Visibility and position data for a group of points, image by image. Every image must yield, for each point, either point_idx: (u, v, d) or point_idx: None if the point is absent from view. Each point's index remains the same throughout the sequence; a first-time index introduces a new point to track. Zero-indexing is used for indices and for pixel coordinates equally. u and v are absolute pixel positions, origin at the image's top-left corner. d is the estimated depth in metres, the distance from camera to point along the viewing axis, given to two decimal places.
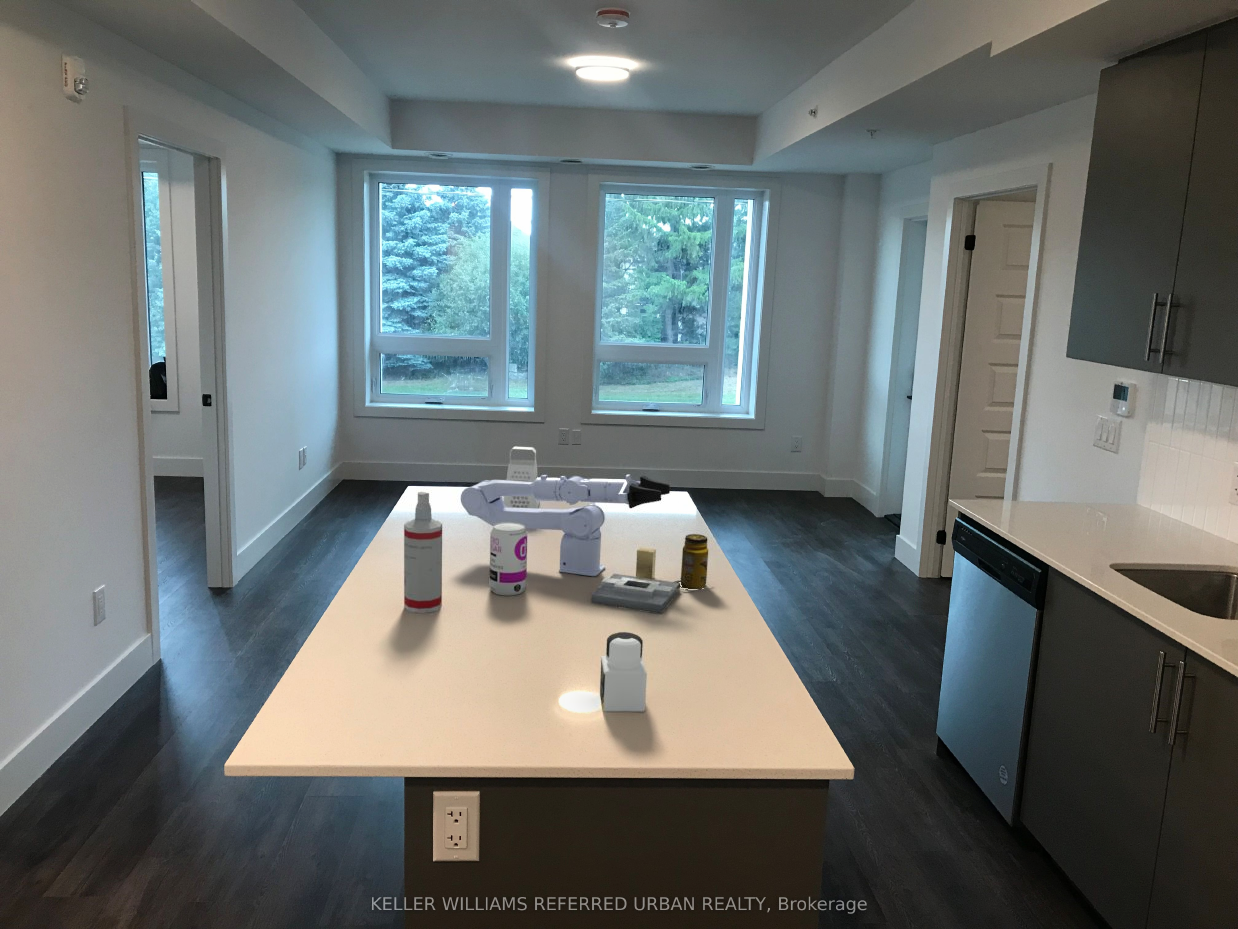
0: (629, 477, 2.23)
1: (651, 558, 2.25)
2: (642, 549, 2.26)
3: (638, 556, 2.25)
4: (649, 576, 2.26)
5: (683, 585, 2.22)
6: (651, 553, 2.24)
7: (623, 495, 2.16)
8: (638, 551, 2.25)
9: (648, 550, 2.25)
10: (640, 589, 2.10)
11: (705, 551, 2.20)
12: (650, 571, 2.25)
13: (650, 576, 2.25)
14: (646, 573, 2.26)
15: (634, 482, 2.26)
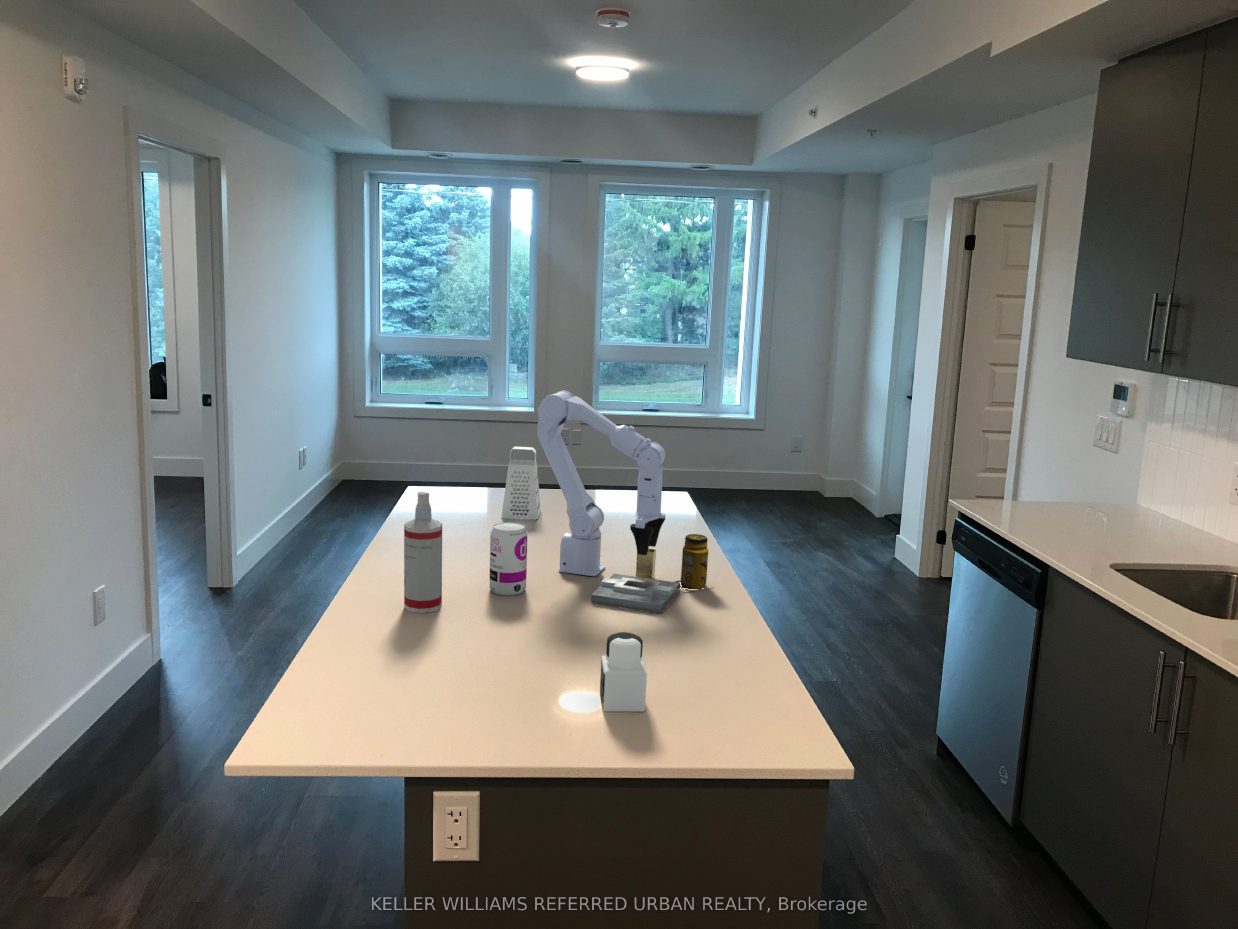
0: None
1: (651, 558, 2.25)
2: None
3: (638, 556, 2.25)
4: (649, 576, 2.26)
5: (683, 585, 2.22)
6: (651, 553, 2.24)
7: (642, 525, 2.17)
8: None
9: (648, 550, 2.25)
10: (640, 589, 2.10)
11: (705, 551, 2.20)
12: (650, 571, 2.25)
13: (650, 576, 2.25)
14: (646, 573, 2.26)
15: None
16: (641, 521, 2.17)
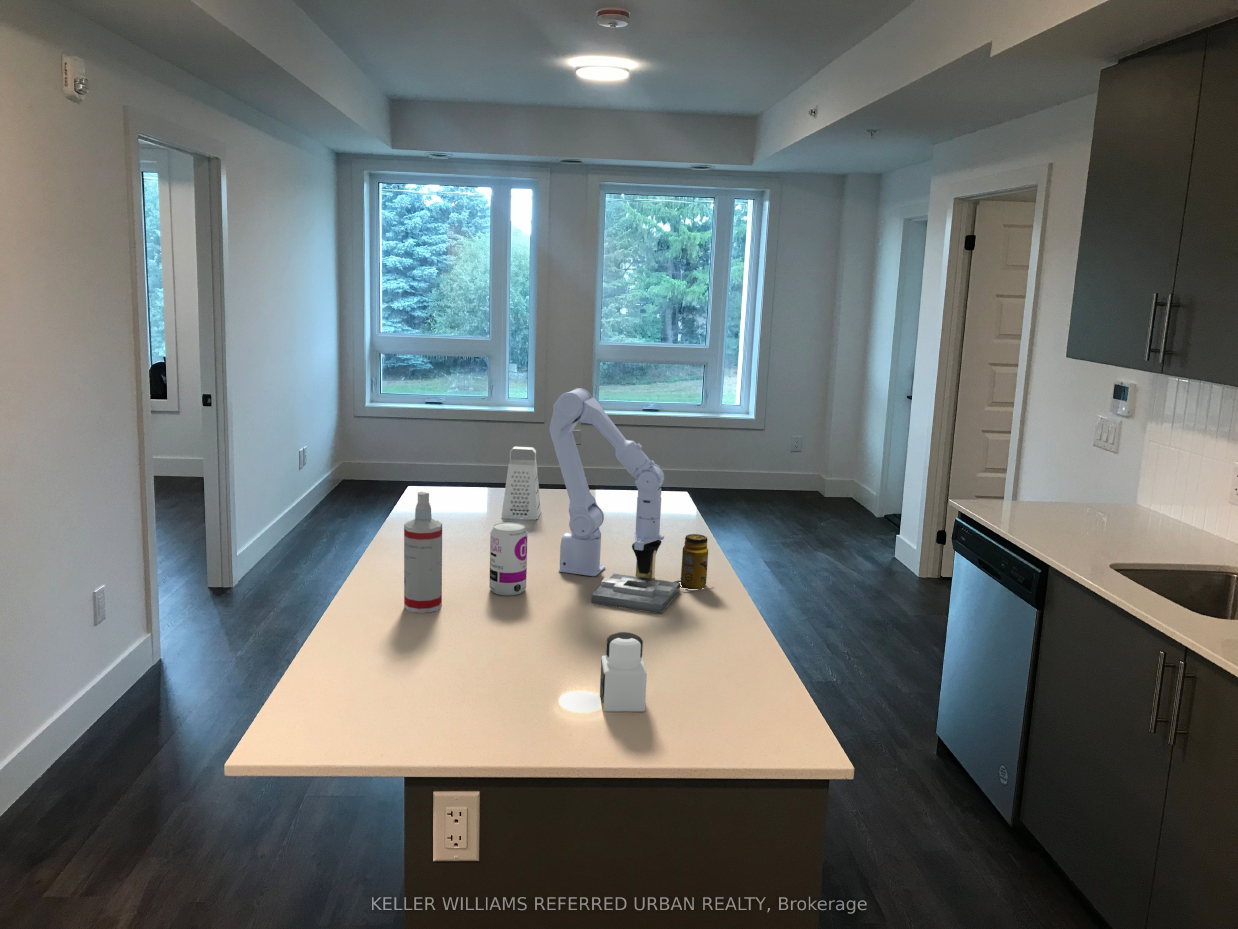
0: None
1: None
2: None
3: None
4: (649, 576, 2.26)
5: (683, 585, 2.22)
6: None
7: (641, 547, 2.18)
8: None
9: None
10: (640, 589, 2.10)
11: (705, 551, 2.20)
12: (650, 571, 2.25)
13: (650, 576, 2.25)
14: None
15: None
16: (640, 543, 2.18)
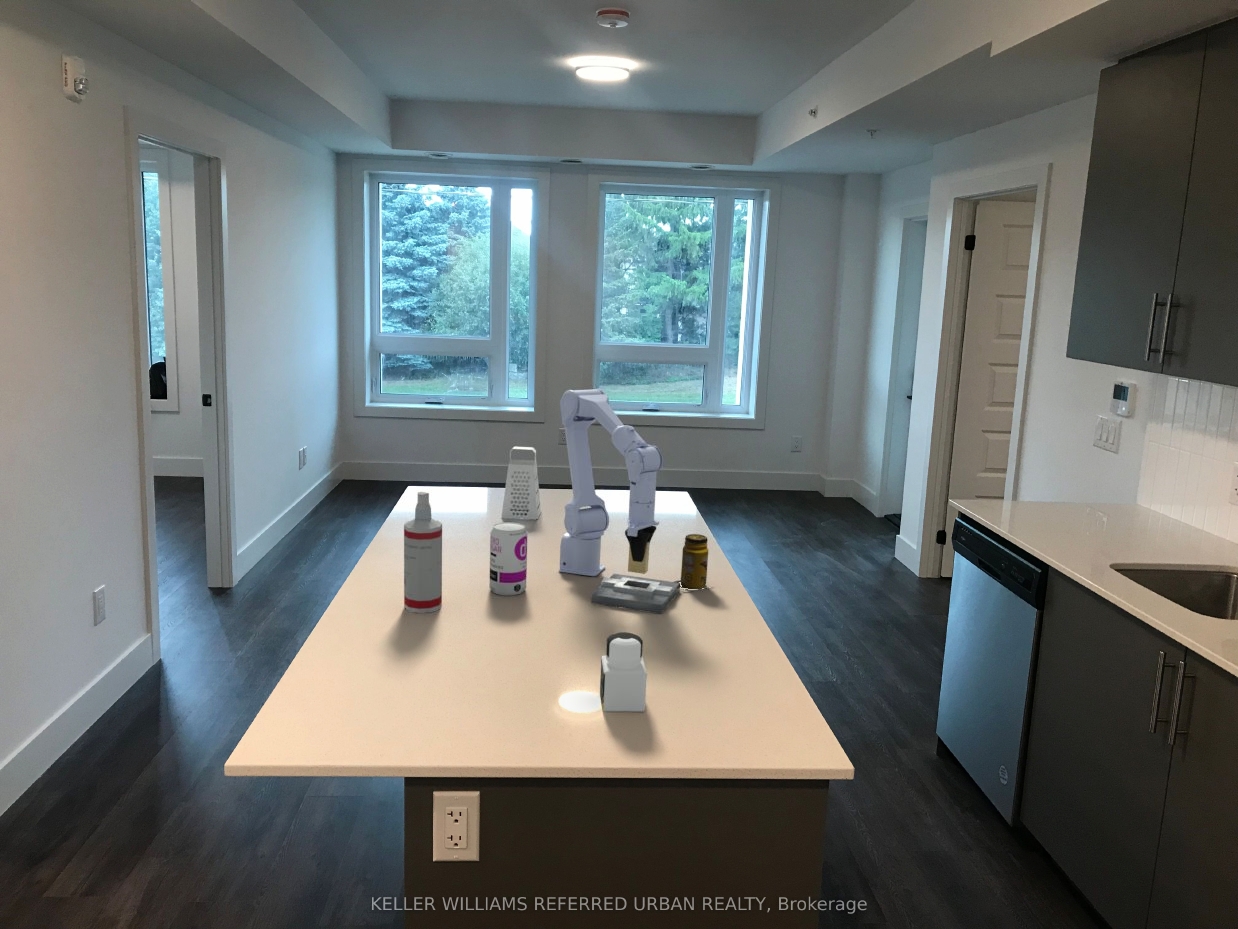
0: None
1: None
2: None
3: None
4: (642, 570, 2.12)
5: (683, 585, 2.22)
6: None
7: (634, 533, 2.05)
8: None
9: None
10: (640, 589, 2.10)
11: (705, 551, 2.20)
12: (643, 564, 2.12)
13: (643, 569, 2.12)
14: (639, 566, 2.12)
15: None
16: (633, 529, 2.04)
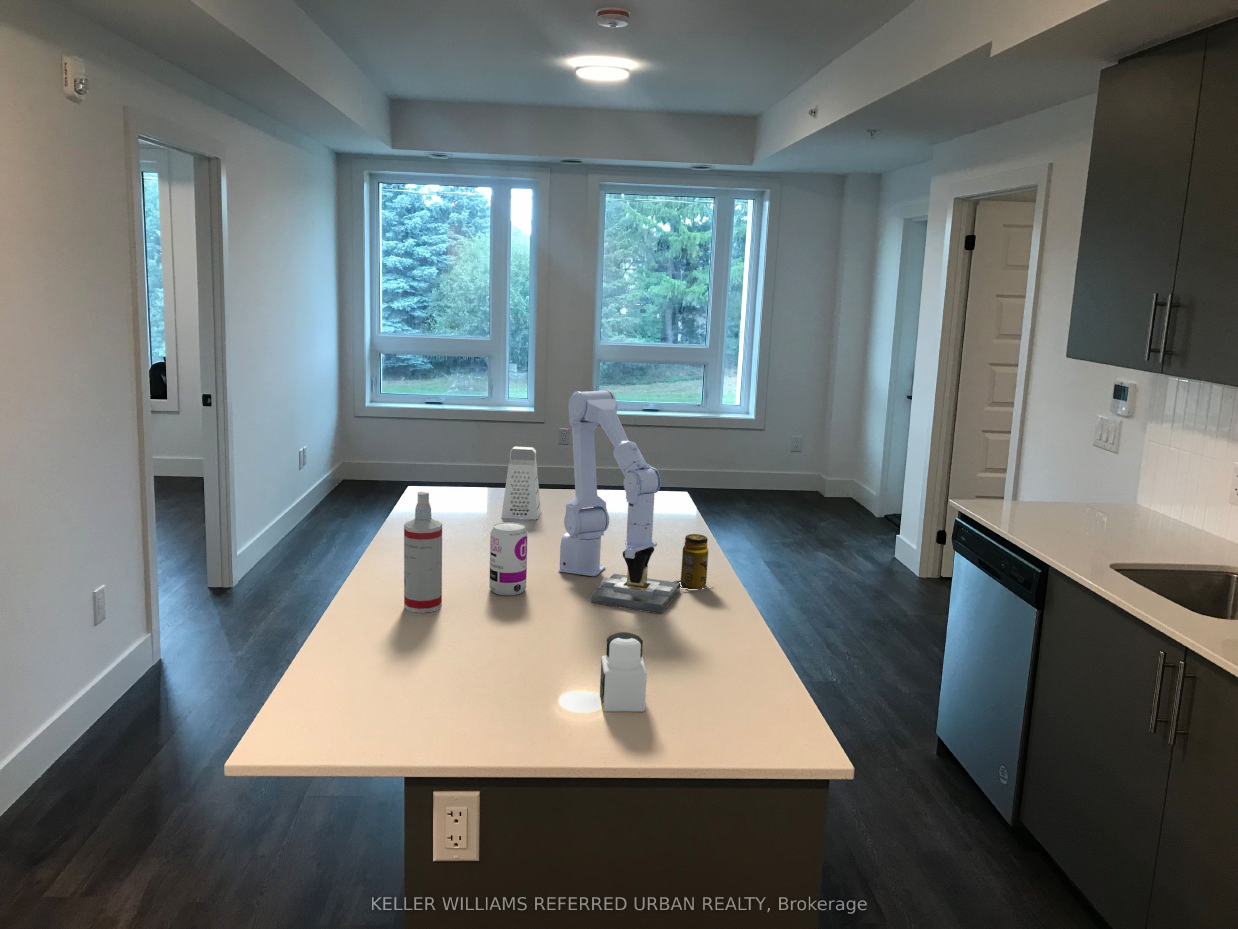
0: None
1: (643, 575, 2.11)
2: None
3: None
4: None
5: (683, 585, 2.22)
6: (643, 569, 2.11)
7: (632, 555, 2.04)
8: None
9: None
10: (640, 589, 2.10)
11: (705, 551, 2.20)
12: None
13: None
14: None
15: None
16: (631, 551, 2.04)
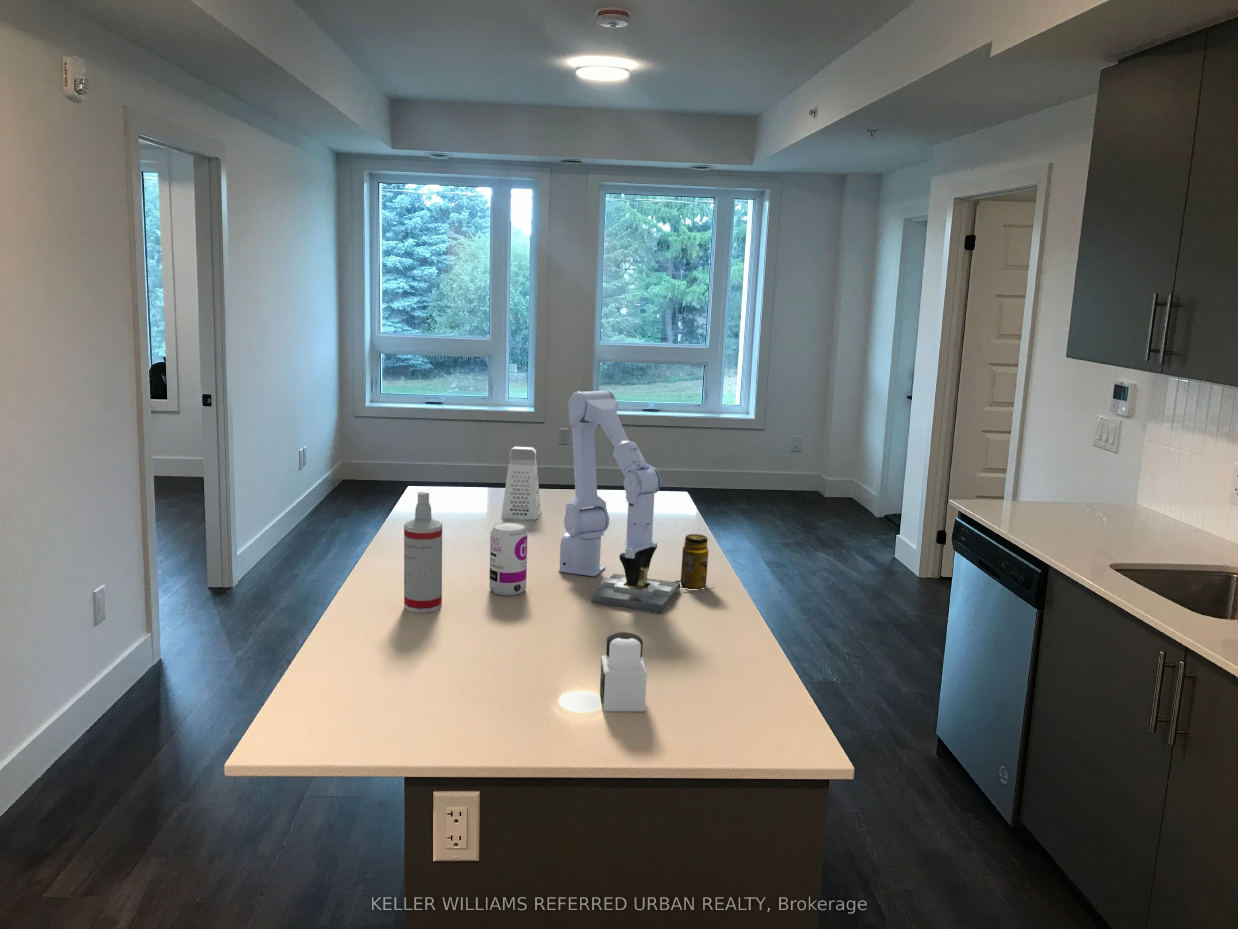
0: None
1: (642, 576, 2.11)
2: None
3: None
4: None
5: (683, 585, 2.22)
6: (642, 571, 2.11)
7: (632, 555, 2.04)
8: None
9: None
10: (640, 589, 2.10)
11: (705, 551, 2.20)
12: None
13: None
14: None
15: None
16: (631, 551, 2.04)
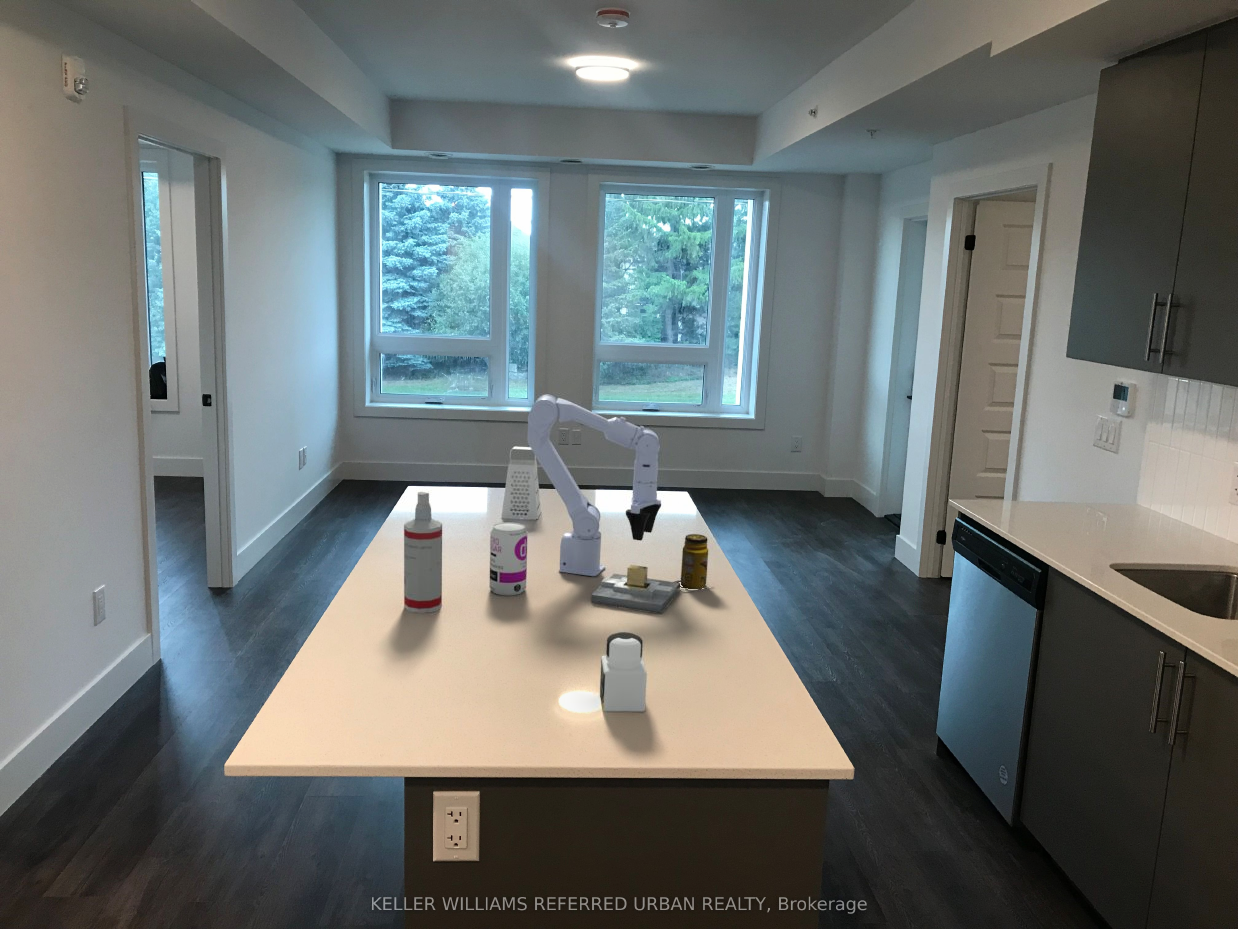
0: None
1: (642, 576, 2.11)
2: (633, 567, 2.12)
3: (629, 574, 2.12)
4: None
5: (683, 585, 2.22)
6: (642, 571, 2.11)
7: (637, 511, 2.20)
8: (629, 569, 2.12)
9: (639, 568, 2.12)
10: (640, 589, 2.10)
11: (705, 551, 2.20)
12: None
13: None
14: None
15: None
16: (636, 506, 2.20)
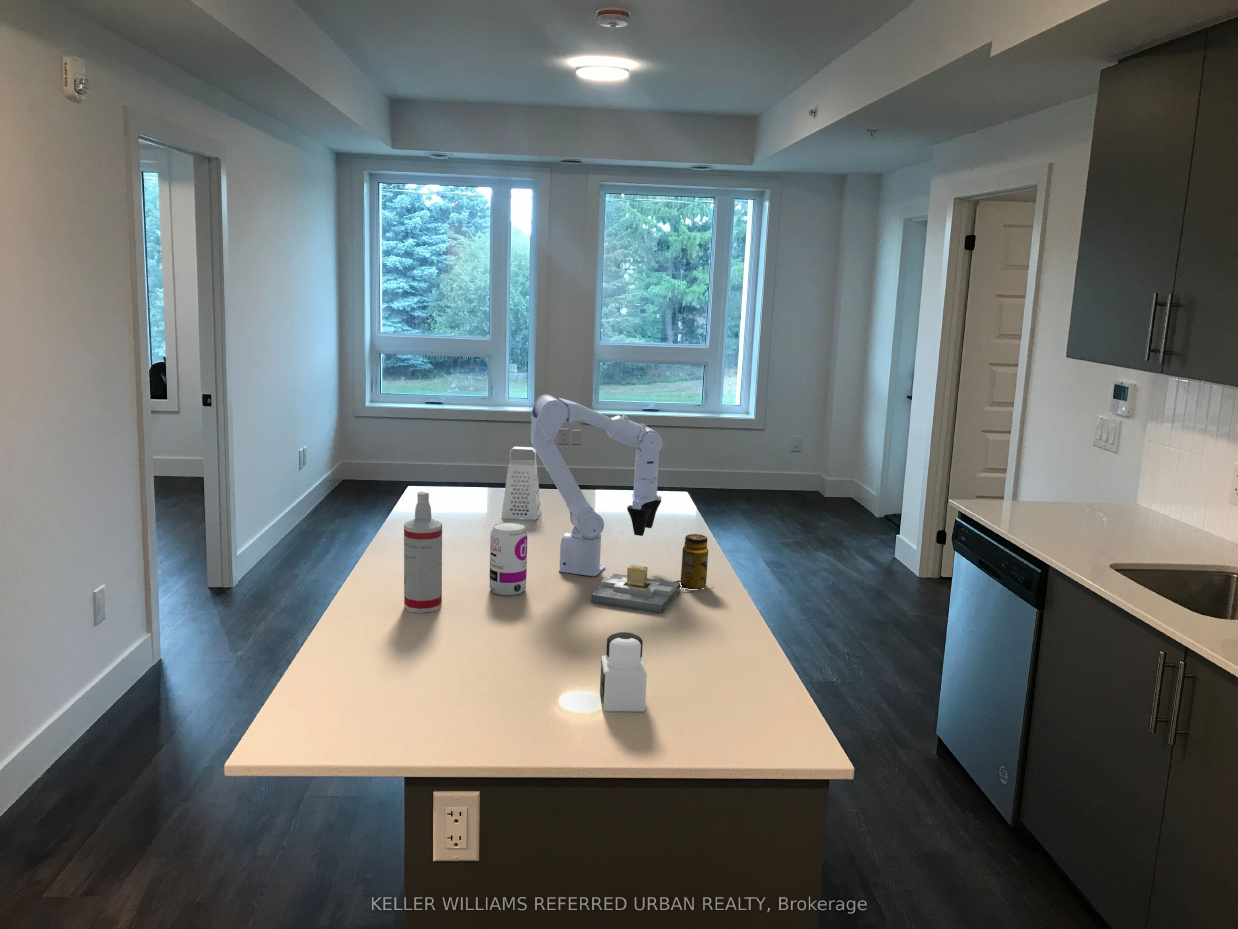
0: None
1: (642, 576, 2.11)
2: (633, 567, 2.12)
3: (629, 574, 2.12)
4: None
5: (683, 585, 2.22)
6: (642, 571, 2.11)
7: (638, 506, 2.24)
8: (629, 569, 2.12)
9: (639, 568, 2.12)
10: (640, 589, 2.10)
11: (705, 551, 2.20)
12: None
13: None
14: None
15: None
16: (638, 502, 2.24)
